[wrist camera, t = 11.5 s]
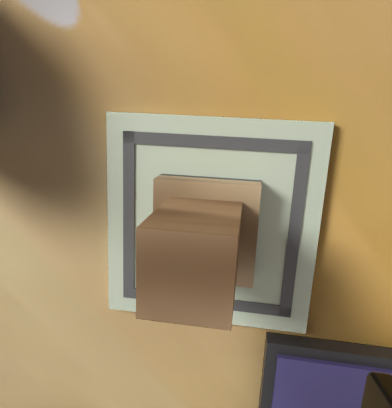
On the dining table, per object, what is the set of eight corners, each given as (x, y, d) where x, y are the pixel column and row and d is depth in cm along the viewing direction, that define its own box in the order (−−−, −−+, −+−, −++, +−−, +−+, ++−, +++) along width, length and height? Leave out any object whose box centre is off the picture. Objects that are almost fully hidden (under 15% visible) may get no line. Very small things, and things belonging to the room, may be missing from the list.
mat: (304, 328, 19) (305, 335, 19) (112, 304, 21) (108, 309, 20) (331, 122, 17) (334, 122, 16) (110, 111, 18) (105, 111, 18)
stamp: (253, 274, 19) (252, 353, 12) (160, 264, 19) (114, 335, 13) (260, 180, 17) (265, 214, 11) (161, 173, 18) (112, 202, 12)
